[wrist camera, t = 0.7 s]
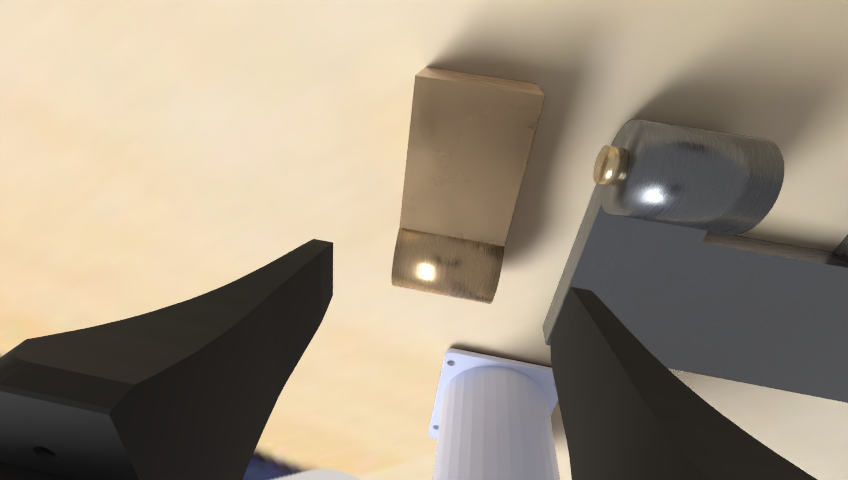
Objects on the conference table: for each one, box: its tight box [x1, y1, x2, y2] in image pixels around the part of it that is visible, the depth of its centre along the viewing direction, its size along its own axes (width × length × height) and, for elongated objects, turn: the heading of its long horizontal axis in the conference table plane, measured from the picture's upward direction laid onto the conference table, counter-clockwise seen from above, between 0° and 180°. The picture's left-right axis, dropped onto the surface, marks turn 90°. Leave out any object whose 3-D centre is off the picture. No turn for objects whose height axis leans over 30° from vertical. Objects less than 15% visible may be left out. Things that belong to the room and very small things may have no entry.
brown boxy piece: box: [392, 67, 545, 304], centre depth 18 cm, size 10×5×4 cm, turn 173°
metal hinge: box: [543, 119, 848, 403], centre depth 18 cm, size 13×19×4 cm
